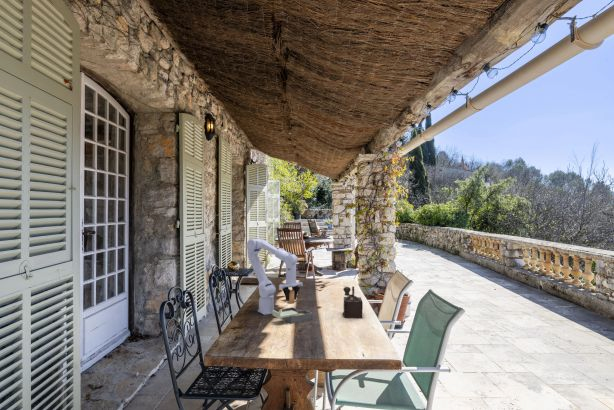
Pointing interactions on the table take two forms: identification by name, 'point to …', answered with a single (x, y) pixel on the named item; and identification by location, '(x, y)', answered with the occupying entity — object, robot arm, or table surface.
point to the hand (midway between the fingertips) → (290, 300)
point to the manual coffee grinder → (352, 304)
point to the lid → (284, 313)
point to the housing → (302, 315)
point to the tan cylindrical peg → (291, 297)
